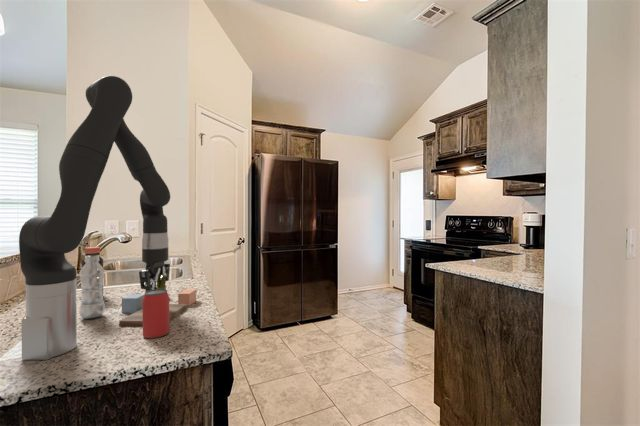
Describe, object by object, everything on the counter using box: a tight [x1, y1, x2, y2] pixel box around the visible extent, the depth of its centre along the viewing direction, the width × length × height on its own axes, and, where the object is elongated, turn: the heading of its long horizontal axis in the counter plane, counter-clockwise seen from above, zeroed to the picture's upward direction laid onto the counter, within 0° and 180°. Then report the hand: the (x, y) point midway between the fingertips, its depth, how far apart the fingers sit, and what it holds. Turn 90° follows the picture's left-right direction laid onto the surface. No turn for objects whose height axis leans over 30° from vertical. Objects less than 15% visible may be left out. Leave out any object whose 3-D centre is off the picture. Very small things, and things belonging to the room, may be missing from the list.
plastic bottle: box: [79, 254, 106, 320], centre depth 96 cm, size 6×7×20 cm
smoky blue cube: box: [121, 293, 145, 314], centre depth 103 cm, size 5×5×5 cm
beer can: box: [142, 288, 170, 339], centre depth 83 cm, size 7×7×12 cm
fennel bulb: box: [144, 275, 167, 293], centre depth 97 cm, size 6×5×12 cm
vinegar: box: [81, 246, 104, 293], centre depth 118 cm, size 7×7×20 cm
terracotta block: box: [177, 288, 197, 307], centre depth 111 cm, size 6×4×4 cm, turn 179°
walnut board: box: [118, 303, 188, 327], centre depth 97 cm, size 16×13×2 cm
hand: (155, 298), depth 97 cm, fingers open, 5 cm apart
